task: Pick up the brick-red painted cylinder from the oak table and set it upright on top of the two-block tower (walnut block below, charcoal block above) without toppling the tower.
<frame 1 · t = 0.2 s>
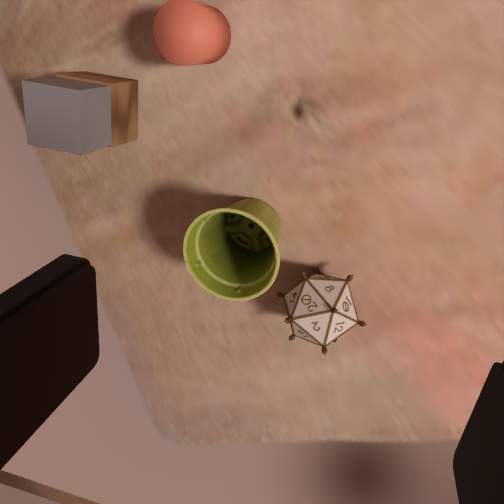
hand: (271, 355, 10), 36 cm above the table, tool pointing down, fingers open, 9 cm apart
plant pot: (253, 223, 49), on the table
tower top: (85, 111, 43), point 5 cm above the table, touching tower base
game die: (324, 289, 50), on the table
tower base: (112, 105, 48), on the table, touching tower top
cylinder: (205, 35, 43), on the table
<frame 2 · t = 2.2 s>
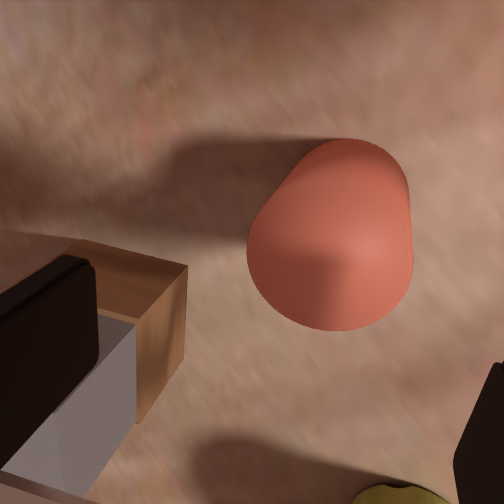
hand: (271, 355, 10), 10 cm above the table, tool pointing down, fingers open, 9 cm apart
tower top: (81, 358, 20), point 5 cm above the table, touching tower base
tower base: (135, 300, 24), on the table, touching tower top
cylinder: (345, 199, 19), on the table
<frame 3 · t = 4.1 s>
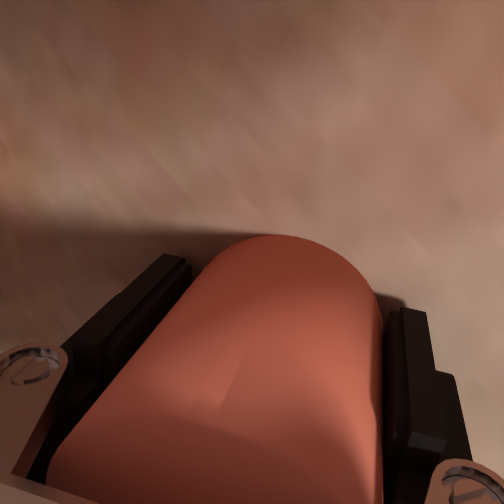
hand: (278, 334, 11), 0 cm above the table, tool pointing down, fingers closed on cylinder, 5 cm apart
cylinder: (282, 324, 12), on the table, touching gripper
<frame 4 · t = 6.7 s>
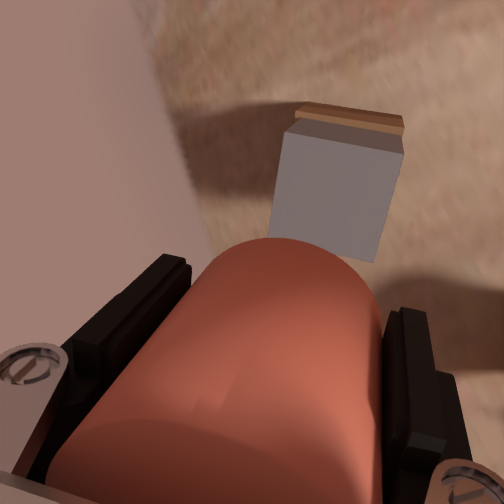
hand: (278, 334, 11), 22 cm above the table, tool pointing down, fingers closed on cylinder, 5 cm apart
tower top: (339, 174, 26), point 5 cm above the table, touching tower base
tower base: (345, 154, 30), on the table, touching tower top
cylinder: (282, 326, 12), point 21 cm above the table, touching gripper
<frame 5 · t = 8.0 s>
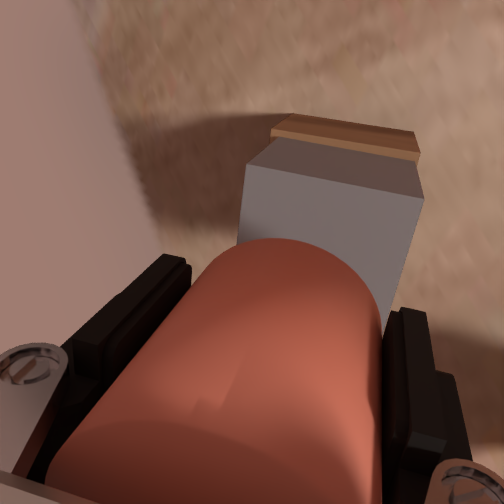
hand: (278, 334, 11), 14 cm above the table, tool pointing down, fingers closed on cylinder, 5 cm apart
tower top: (331, 211, 19), point 5 cm above the table, touching tower base
tower base: (340, 180, 24), on the table, touching tower top
cylinder: (281, 327, 12), point 14 cm above the table, touching gripper
when the fingers open (12 cm above the table, at t = 9.3 s): cylinder drops 2 cm, resting on tower top.
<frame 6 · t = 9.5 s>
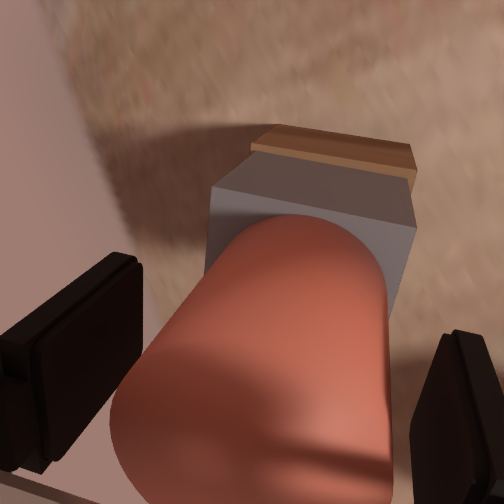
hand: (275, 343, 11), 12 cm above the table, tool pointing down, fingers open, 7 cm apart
tower top: (315, 233, 17), point 5 cm above the table, touching cylinder, tower base
tower base: (330, 195, 22), on the table, touching tower top
cylinder: (297, 296, 13), point 10 cm above the table, touching tower top
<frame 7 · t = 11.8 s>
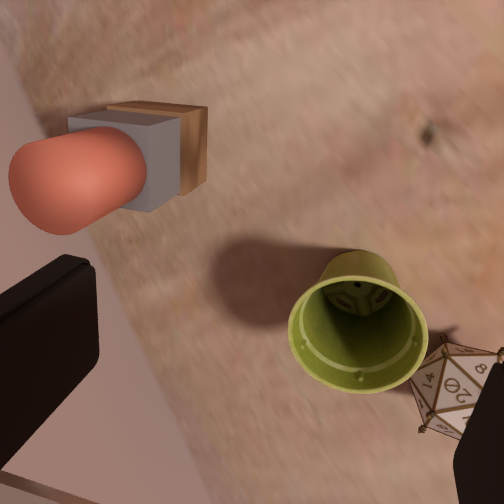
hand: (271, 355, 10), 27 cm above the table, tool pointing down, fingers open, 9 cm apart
plant pot: (359, 281, 38), on the table
tower top: (145, 151, 33), point 5 cm above the table, touching cylinder, tower base
game die: (452, 360, 39), on the table
tower base: (173, 141, 38), on the table, touching tower top
cylinder: (110, 166, 29), point 10 cm above the table, touching tower top
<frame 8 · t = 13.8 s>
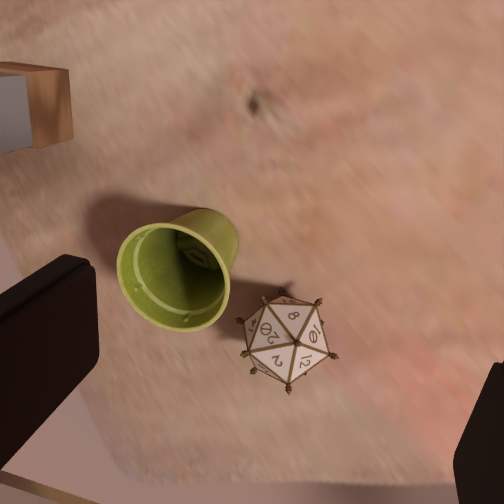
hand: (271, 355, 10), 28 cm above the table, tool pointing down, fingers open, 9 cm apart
plant pot: (209, 238, 42), on the table
tower top: (0, 107, 37), point 5 cm above the table, touching cylinder, tower base
game die: (293, 313, 43), on the table
tower base: (42, 100, 41), on the table, touching tower top
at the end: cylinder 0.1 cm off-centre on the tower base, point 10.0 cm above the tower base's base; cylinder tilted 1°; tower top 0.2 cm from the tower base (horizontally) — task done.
